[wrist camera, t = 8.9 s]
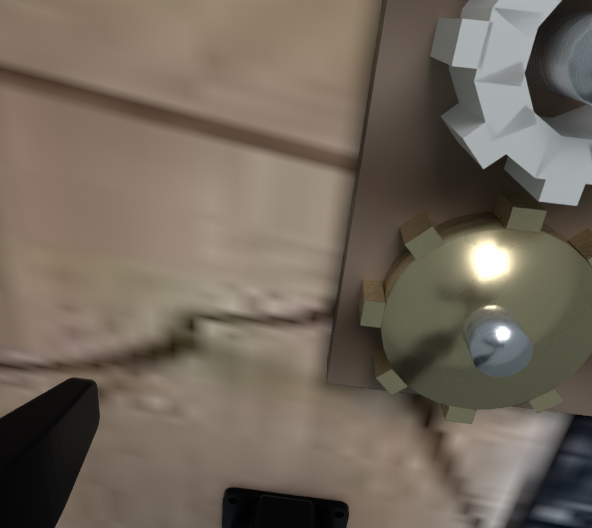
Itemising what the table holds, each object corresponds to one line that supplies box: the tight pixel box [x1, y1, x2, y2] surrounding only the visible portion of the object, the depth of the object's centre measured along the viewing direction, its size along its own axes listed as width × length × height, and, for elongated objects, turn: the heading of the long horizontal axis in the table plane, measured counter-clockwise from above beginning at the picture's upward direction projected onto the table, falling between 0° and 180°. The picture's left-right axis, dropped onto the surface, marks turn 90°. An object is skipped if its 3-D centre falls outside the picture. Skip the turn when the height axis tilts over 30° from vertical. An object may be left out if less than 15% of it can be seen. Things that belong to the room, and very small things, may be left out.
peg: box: [525, 11, 592, 105], centre depth 12 cm, size 2×2×4 cm
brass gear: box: [359, 191, 592, 424], centre depth 16 cm, size 9×9×3 cm
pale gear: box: [430, 0, 592, 206], centre depth 12 cm, size 7×7×3 cm
